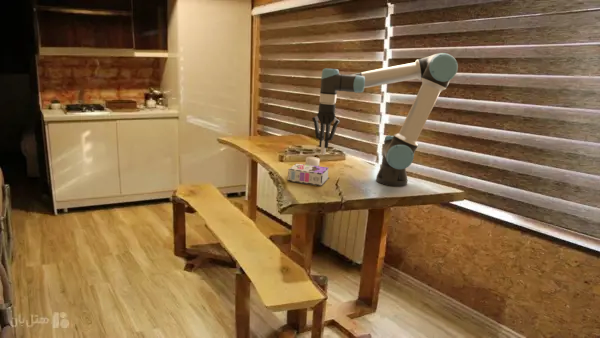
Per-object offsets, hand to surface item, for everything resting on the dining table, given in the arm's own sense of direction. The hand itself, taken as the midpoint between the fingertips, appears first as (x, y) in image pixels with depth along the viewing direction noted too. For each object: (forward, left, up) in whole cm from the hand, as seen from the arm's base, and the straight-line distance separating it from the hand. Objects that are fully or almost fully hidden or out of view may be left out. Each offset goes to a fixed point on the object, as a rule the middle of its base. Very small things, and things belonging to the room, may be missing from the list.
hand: (322, 154), depth 215 cm
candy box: (-3, +1, -10) cm, 10 cm away
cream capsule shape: (+11, -17, -13) cm, 24 cm away
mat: (+5, -1, -13) cm, 14 cm away
